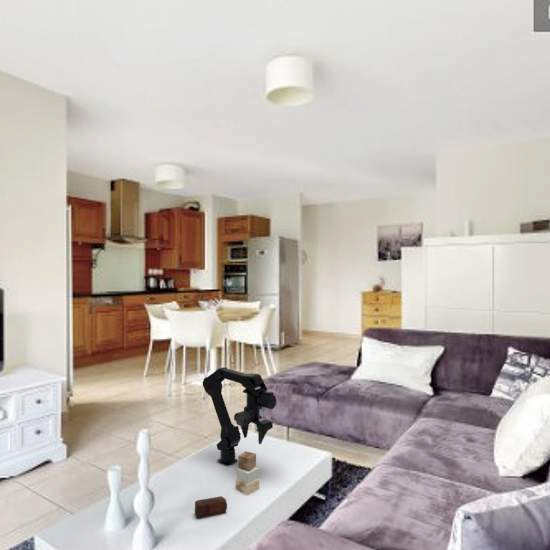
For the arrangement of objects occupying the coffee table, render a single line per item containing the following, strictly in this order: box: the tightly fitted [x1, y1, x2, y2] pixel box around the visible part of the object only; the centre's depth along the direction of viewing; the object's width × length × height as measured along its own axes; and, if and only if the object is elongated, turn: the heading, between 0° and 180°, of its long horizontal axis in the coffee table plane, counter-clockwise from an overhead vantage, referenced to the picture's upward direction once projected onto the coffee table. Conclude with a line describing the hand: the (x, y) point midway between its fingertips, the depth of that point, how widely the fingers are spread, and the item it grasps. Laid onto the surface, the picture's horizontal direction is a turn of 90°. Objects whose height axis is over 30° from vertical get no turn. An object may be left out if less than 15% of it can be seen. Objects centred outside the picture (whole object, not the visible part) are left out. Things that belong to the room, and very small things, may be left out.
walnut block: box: [237, 450, 257, 471], centre depth 163 cm, size 5×5×5 cm
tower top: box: [236, 466, 259, 484], centre depth 162 cm, size 6×6×4 cm
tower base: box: [235, 478, 260, 496], centre depth 162 cm, size 6×6×4 cm
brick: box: [194, 496, 228, 519], centre depth 145 cm, size 11×4×5 cm, turn 113°
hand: (252, 440), depth 177 cm, fingers open, 9 cm apart
